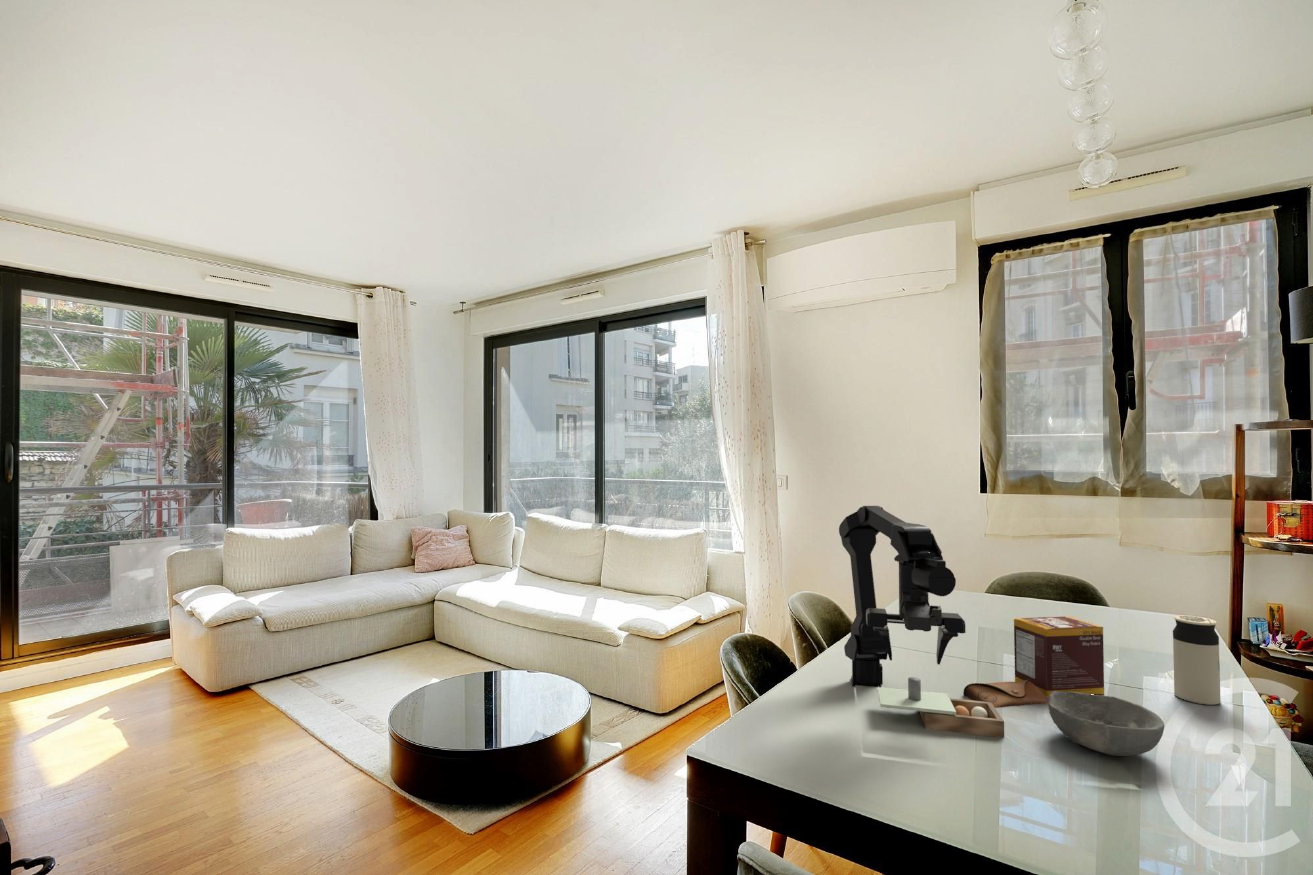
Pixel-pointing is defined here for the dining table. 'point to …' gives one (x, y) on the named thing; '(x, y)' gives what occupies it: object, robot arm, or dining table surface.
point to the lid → (915, 699)
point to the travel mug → (1196, 660)
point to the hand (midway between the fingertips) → (914, 661)
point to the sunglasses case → (1006, 693)
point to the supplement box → (1059, 654)
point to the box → (966, 720)
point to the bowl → (1105, 723)
